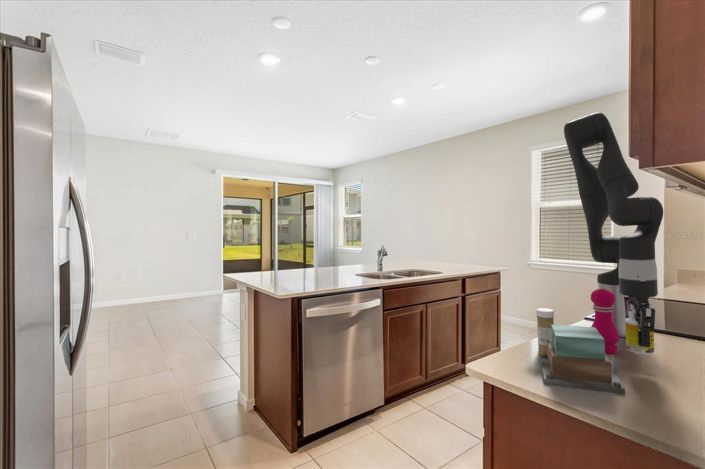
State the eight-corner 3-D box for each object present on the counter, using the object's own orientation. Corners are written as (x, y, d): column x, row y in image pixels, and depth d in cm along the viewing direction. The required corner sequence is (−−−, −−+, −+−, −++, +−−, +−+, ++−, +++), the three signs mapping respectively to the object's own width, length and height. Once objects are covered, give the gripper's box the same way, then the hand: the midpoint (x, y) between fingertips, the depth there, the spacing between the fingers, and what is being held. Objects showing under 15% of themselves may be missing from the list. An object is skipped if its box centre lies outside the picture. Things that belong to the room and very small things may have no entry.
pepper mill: (605, 356, 99) (603, 287, 98) (583, 347, 106) (581, 283, 105) (626, 353, 100) (624, 285, 100) (603, 344, 107) (601, 281, 107)
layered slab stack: (539, 359, 99) (538, 320, 99) (607, 366, 92) (606, 325, 92) (544, 383, 84) (543, 338, 84) (625, 394, 78) (623, 345, 77)
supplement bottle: (651, 357, 84) (650, 316, 83) (623, 351, 88) (621, 312, 88) (657, 351, 87) (655, 311, 87) (629, 346, 92) (628, 308, 91)
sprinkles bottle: (558, 354, 101) (556, 309, 101) (550, 358, 99) (548, 312, 99) (542, 350, 105) (541, 306, 105) (534, 354, 103) (533, 309, 102)
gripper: (611, 271, 95) (613, 332, 96) (628, 281, 82) (630, 351, 82) (645, 271, 92) (647, 334, 93) (668, 281, 79) (671, 354, 79)
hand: (639, 341), depth 87 cm, fingers closed on supplement bottle, 5 cm apart
